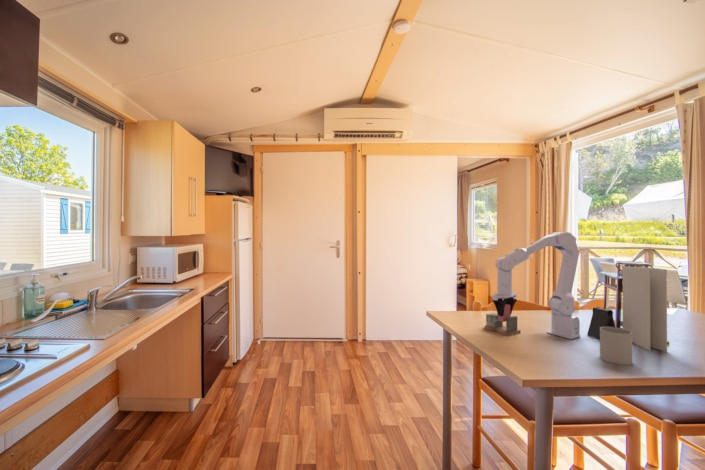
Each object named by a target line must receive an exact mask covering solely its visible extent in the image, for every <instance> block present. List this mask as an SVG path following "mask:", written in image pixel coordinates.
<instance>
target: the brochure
mask: <svg viewBox="0 0 705 470" xmlns="http://www.w3.org/2000/svg"><path fill="white" fill-rule="evenodd" d="M667 273H668V271H667V269H661V268H653V267H647V266H640V265H639V266H638V265H637V266H628V265H627V266H625V265H623V266H622V329H625V330H628V331H631V332H632V344H634V345H637V346H639V347H641V348H643V349H645V350H647V351H651V348H654V349H655V350H660V351H663V352H666V353H667V352H668V294H667V293H668V287H667V286H668V283H667V282H668V280H667V279H668V274H667Z"/></svg>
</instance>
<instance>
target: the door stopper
mask: <svg viewBox="0 0 705 470" xmlns="http://www.w3.org/2000/svg"><path fill="white" fill-rule="evenodd" d="M591 315H592V316H591V320H590V323H589V327H588V330H587V334H586V335H587V336H589V337H592V338H594V339H599V340H600V327H615V328H617V327H616V324H615V320H614V311H613V310H612V309H608V308H603V307H599V306H593V307H592V314H591Z"/></svg>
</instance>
